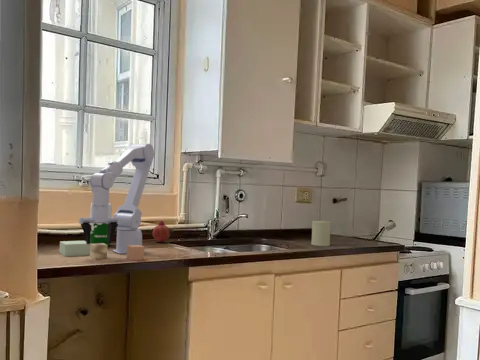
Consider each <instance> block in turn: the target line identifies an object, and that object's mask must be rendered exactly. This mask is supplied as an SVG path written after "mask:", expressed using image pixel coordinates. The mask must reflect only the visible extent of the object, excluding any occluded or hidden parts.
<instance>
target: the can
mask: <svg viewBox="0 0 480 360" xmlns="http://www.w3.org/2000/svg"><path fill="white" fill-rule="evenodd" d="M311 223H312V224H311V243H310V244H311V245H313V246H317V247H319V246H320V247H330V246H331V243H330V241H331V224H332V223H331V221H327V220H312V221H311Z"/></svg>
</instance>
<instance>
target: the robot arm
mask: <svg viewBox="0 0 480 360" xmlns="http://www.w3.org/2000/svg"><path fill="white" fill-rule="evenodd" d="M155 154H156V153H155V150H154V147H153V145H152V144H151V143H129V144H128V145H127V146H126V147H125V151H124V152H123V153H122V154H121V155H120V156H119V157H118V158H117V160H112V161H108V162H107V164H106V166H104V167H103V168H102V169H100V171H99V172H95V173H94V174H92V175H91V177H90V179H89V186H90V187H91V193H92V199H91V200H92V202H91V203H92V218H90V217H79V218H78V224H80V227H81V229H82V231H83V233H84V238H85V241H86V243H87V244H90V233H91V227H92V226H91V225H90V223H109V224H107V230H108V235H107V243H110V244H112V240H113V237H114V234H115V232H116V243H115V245H116V246H115V247H116V248H115V249H112V252H115V253H116V254H127V245H141V246H143V233H142V232H143V231H142V230H141V229H139V227H140V225H141V223H142V213H143V212H142V211H141V209H139V205H140V201H141V198H142V195H143V192H144V189H145V186H146V183H147V180H148V177H149V173H150V170H151V166H152V163H153V159H154V158H155ZM130 162H131V165H132V166H133V167H135V171H134V174H133V177H132V179H131V180H132V181H131V184H130V186H129V188H128V192H127V195H126V197H125V201H124V204H122V205H119V206H118V207H117V210H116V212H115V213H114V215H112V218H108V208H109V203H110V189H111V188H112V187H113V186H114V182H115V180H116V179H117V178H118V177H119V176H120V175H121V174H122V173H123V170H124V169H123V168H124V167H126V165H128V164H129V163H130ZM95 221H107V222H95Z"/></svg>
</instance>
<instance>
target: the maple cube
mask: <svg viewBox="0 0 480 360" xmlns="http://www.w3.org/2000/svg"><path fill="white" fill-rule="evenodd" d="M89 257H90V258H92V259H95V260H96V258H97V259H107V258H108V246H107V245H106V244H104V243H95V244H90V255H89Z"/></svg>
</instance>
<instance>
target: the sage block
mask: <svg viewBox="0 0 480 360" xmlns="http://www.w3.org/2000/svg"><path fill="white" fill-rule="evenodd" d="M58 252H59V254H61V255H63V256H64V257H72V256H73V257H75V256H77V257H78V256H90V244H87V243H86V240H67V241H66V240H63V241H59V251H58Z"/></svg>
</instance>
